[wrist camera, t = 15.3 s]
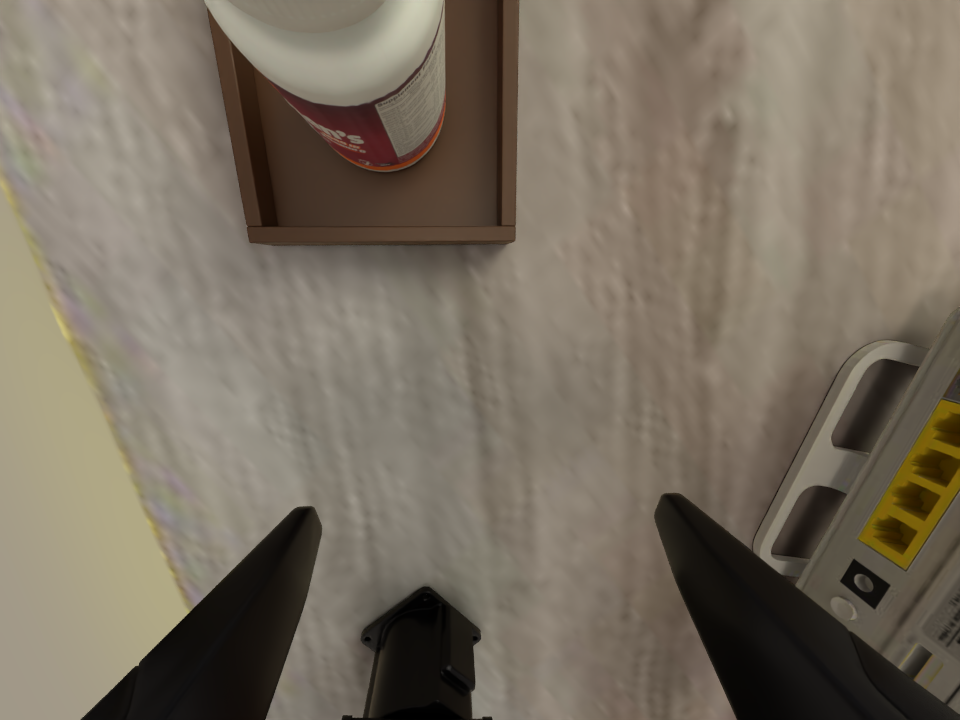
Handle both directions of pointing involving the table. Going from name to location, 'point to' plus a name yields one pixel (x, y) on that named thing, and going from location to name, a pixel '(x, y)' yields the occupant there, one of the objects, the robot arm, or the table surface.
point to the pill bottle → (351, 69)
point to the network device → (889, 516)
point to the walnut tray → (385, 195)
